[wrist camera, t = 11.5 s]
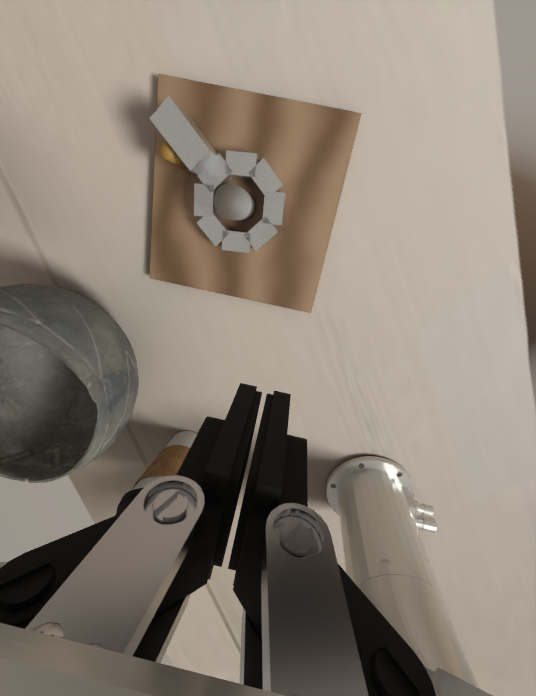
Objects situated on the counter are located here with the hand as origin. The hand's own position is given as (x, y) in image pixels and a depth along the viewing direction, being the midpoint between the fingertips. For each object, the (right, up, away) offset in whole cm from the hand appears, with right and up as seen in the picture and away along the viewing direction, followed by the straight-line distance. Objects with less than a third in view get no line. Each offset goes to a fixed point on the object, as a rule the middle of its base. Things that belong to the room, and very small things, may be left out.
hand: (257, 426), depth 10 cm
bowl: (-24, +2, +34) cm, 41 cm away
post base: (-2, +18, +25) cm, 31 cm away
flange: (-4, +20, +23) cm, 30 cm away
